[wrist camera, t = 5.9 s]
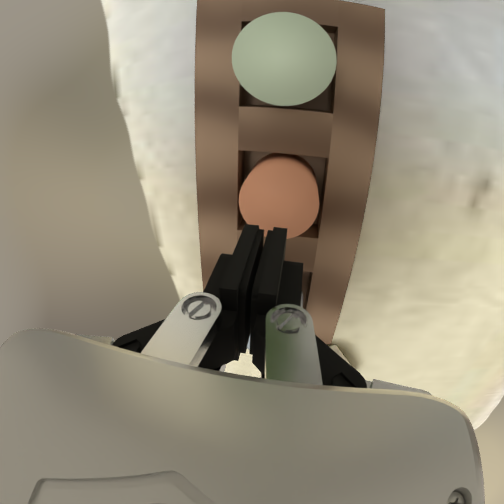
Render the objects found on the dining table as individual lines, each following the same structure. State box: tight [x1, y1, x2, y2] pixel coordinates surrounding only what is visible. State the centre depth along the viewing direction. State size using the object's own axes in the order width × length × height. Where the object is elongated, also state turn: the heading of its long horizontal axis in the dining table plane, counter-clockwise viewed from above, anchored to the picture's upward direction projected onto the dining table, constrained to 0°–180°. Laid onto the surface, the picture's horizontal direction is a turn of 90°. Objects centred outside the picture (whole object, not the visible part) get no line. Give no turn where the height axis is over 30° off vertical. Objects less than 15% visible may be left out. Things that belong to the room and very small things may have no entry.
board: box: [195, 0, 385, 344], centre depth 22 cm, size 28×12×3 cm, turn 178°
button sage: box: [232, 12, 337, 106], centre depth 14 cm, size 5×5×4 cm
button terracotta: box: [239, 153, 319, 239], centre depth 21 cm, size 5×5×4 cm
